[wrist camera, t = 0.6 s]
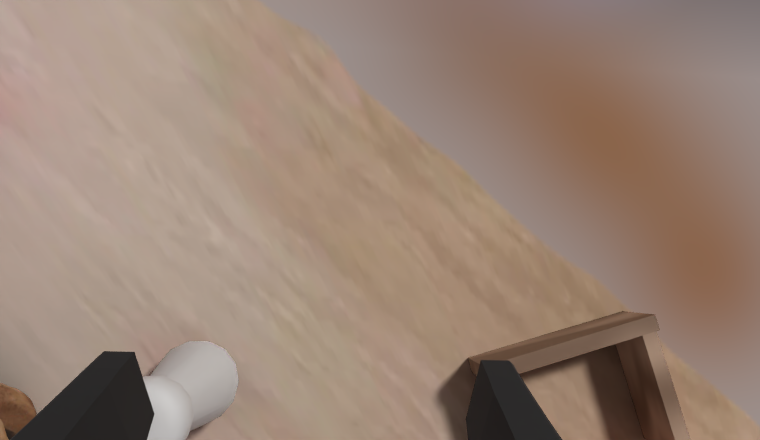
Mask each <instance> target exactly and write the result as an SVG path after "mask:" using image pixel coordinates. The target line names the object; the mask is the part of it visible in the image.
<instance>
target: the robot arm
mask: <svg viewBox="0 0 760 440" xmlns="http://www.w3.org/2000/svg"><path fill="white" fill-rule="evenodd" d="M153 417H154V411H153V408H152V405H151V401H150V398H149V395H148V392H147V389H146V386H145V383H144V380H143V377H142V374H141V371H140V368H139V365H138V362H137V359H136V356H135V352H110V351H104V352H103V353H102V354H101V355H99V356H98V357H97V358H96V359H95V360H94V361H93V362H92V363H91V364H90V365H89V366H88V367H87V368H86V369H85V370H83V371H82V372H81V373H80V374H79V375H78V376H77V377H76V378H75V379H74V380H73V381H72V382H71V383H70V384H69V385H68V386H67V387H66V388H65V389H64V390H63V391H62V392H60V393H59V394H58V395H57V396H56V397H55V398H54V399H53V400H52V401H51V402H50V403H49V404H48V405H47V406H46V407H45V408H44V409H43V410H42V411H40V412H39V413H38V414H37V415H36V416H35V417H34V418H33V419H32V420H31V421H30V422H29V423H28V424H26V425H25V426H24V427H23V428H22V429H21V430H20V431H19V432H18V433H17V434H16V435H15V436H13V437H12V438H11V439H10V440H147V438H148V434H149V431H150V428H151V424H152V421H153ZM466 423H467V432H468V440H562V439H561V437H560V436H559V434H558V433H557V432H556V430H555V429H554V427H553V426H552V424H551V423H550V421H549V420H548V418H547V417H546V415H545V414H544V412H543V411H542V409H541V408H540V406H539V405H538V403H537V402H536V400H535V399H534V397H533V396H532V394H531V392H530V391H529V389H528V388H527V386H526V385H525V383H524V381H523V380H522V378H521V377H520V375H519V373H518V372H517V370H516V368H515V367H514V365H513V364H512V363H511V362H510V361H508V360H481V361H480V365H479V369H478V373H477V377H476V381H475V385H474V389H473V393H472V397H471V401H470V405H469V409H468V413H467V417H466Z"/></svg>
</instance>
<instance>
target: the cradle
mask: <svg viewBox="0 0 760 440" xmlns="http://www.w3.org/2000/svg"><path fill="white" fill-rule="evenodd" d="M659 330H660V329H659V326H658V322H657V319H656V316H655V315H654V314H644V313H634V312H625V311H622V312H619V313H616V314H612V315H609V316H606V317H602V318H599V319H596V320H592V321H589V322H586V323H582V324H579V325H576V326H572V327H569V328H566V329H562V330H559V331H556V332H552V333H549V334H546V335H542V336H539V337H536V338H532V339H529V340H526V341H522V342H519V343H516V344H512V345H509V346H506V347H502V348H499V349H496V350H492V351H489V352H486V353H483V354H479V355H476V356H473V357H469V358H468V360H469V363H470V367H471V370H472V373H473V374H475V375H477V373H478V369H479V365H480V361H481V360H508V361H510V362H511V363H512V364H513V365H514V367H515V368H516V370H517V372H518V373H519V374H520V373H524V372H527V371H530V370H533V369H536V368H540V367H543V366H546V365H549V364H552V363H556V362H559V361H562V360H565V359H569V358H572V357H575V356H578V355H581V354H585V353H588V352H591V351H594V350H598V349H601V348H604V347H607V346H610V345H614V344H616V347H617V351H618V354H619V357H620V361H621V364H622V367H623V370H624V374H625V377H626V380H627V384H628V387H629V390H630V393H631V397H632V400H633V403H634V406H635V410H636V413H637V416H638V420H639V423H640V426H641V429H642V433H643V436H644V438H645V439H647V440H691V439H690V436H689V433H688V430H687V427H686V424H685V420H684V417H683V414H682V411H681V408H680V404H679V401H678V398H677V395H676V392H675V389H674V385H673V382H672V379H671V376H670V373H669V369H668V366H667V363H666V360H665V357H664V353H663V350H662V347H661V344H660V341H659V338H658V334H657V331H659Z"/></svg>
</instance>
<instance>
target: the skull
mask: <svg viewBox="0 0 760 440" xmlns="http://www.w3.org/2000/svg"><path fill="white" fill-rule="evenodd" d="M35 416H36V411H35V408H34V406H33V403H32V401H31V400H30V399H29V398H28V397H27V396H26V395H25V394H24V393H22V392H21V391H19V390H18V389H16V388H13V387H9V386H7V385H5V384H2V383H0V440H10V439H11V438H12V437H13V436H15V435H16V434H17V433H18V432H19V431H20V430H21V429H22V428H23V427H24V426H25V425H26V424H28V423H29V422H30V421H31V420H32V419H33V418H34V417H35Z"/></svg>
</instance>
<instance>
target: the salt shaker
mask: <svg viewBox="0 0 760 440" xmlns="http://www.w3.org/2000/svg"><path fill="white" fill-rule="evenodd" d="M143 380H144V383H145V386H146V389H147V392H148V395H149V398H150V401H151V405H152V408H153V411H154V417H153V421H152V424H151V428H150V431H149V434H148V438H147V440H186V438H187V437H188V435H189V432H190V431H191V430H193V429H196V428H198V427H201V426H203V425H205V424H207V423H209V422H211V421H213V420H214V419H216V418H218V417H220V416H221V415H222V414H223V413H224V412H225V411H226V409H227V408H228V407H229V406H230V405H231V404H232V402H233V401H234V397H235V393H236V390H237V386H238V381H239V380H238V374H237V368H236V363H235V362H234V360H233V359H232V358H231V356H230V355H229V354H228V352H227V351H226V350H225V349H224V348H222V347H220V346H218V345H216V344H214V343H212V342H210V341H188V342H186V343H184V344H182V345H180V346H177V347H175V348H173V349H171V350H170V351H169V352H168V353H167V354H166V356H165V357H164V358H163V359H162V360H161V361H160V363H159V364H158V365H157V366H156V368H155V369H154V371H153V372H152V374H151V375H150V376H144V377H143Z"/></svg>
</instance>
